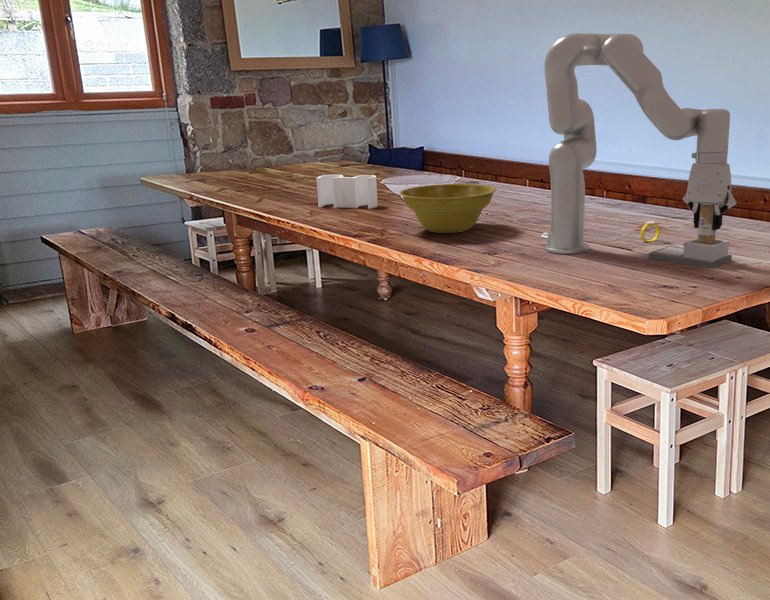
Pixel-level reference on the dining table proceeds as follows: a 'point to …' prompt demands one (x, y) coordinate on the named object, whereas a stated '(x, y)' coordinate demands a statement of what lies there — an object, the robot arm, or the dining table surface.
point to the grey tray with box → (695, 254)
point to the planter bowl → (448, 205)
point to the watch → (645, 228)
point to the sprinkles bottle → (706, 224)
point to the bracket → (347, 191)
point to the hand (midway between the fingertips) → (707, 227)
